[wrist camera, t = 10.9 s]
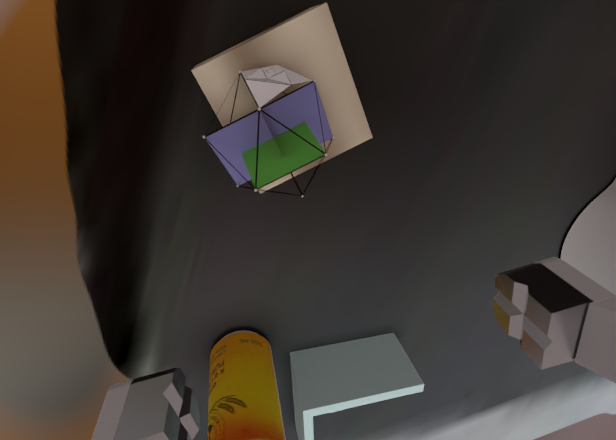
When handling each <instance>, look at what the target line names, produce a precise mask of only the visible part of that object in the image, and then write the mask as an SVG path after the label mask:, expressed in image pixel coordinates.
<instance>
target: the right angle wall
mask: <svg viewBox="0 0 616 440" xmlns="http://www.w3.org/2000/svg"><path fill="white" fill-rule="evenodd" d="M290 362H291V375H292V388H293V402H294V415H295V425H296V430H297V435H298V440H314V436H313V416H316V415H321V414H325V413H330V412H331V413H333V412H336V411H338V410H340V411H342V410H343V409H347V408H351V407H356V406H360V405H365V404H369V403H373V402H378V401H382V400H387V399H391V398H395V397H400V396H404V395H408V394H413V393H417V392H422V391H423V388H424V383H423V381H422V380H421V378H420V376H419V374H418V373H417V371H416V369H415V368H414V366H413V364H412V363H411V361H410V359H409V358H408V356H407V354H406V353H405V351H404V349H403V347H402V346H401V344H400V342H399V341H398V339H397V337H396V336H395V334H394V333H389V334H384V335H378V336H373V337H368V338H363V339H357V340H352V341H347V342H342V343H336V344H331V345H326V346H321V347H315V348H310V349H305V350H300V351H294V352H290Z"/></svg>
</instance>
